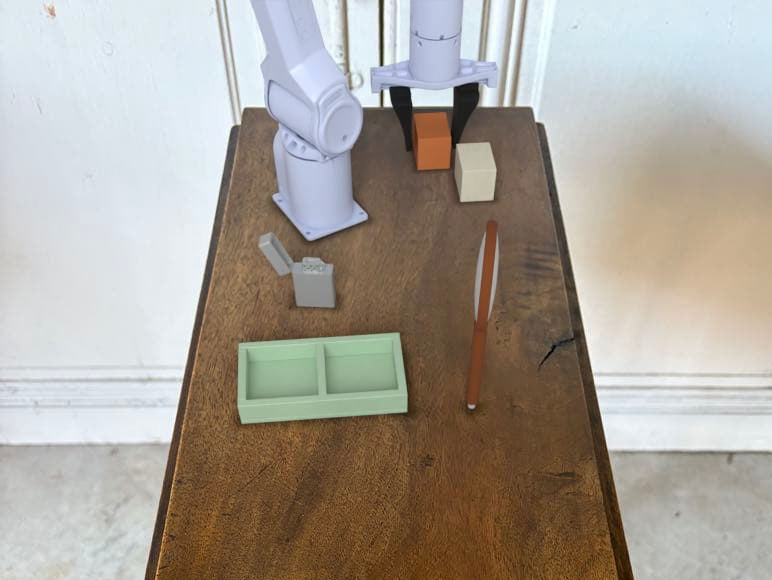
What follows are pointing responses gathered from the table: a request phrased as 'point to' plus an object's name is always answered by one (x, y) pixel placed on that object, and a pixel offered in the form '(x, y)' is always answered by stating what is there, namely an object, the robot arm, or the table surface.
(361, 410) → the tray
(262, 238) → the lighter
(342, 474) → the table surface
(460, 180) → the cream rectangular block
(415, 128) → the orange block
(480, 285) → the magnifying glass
